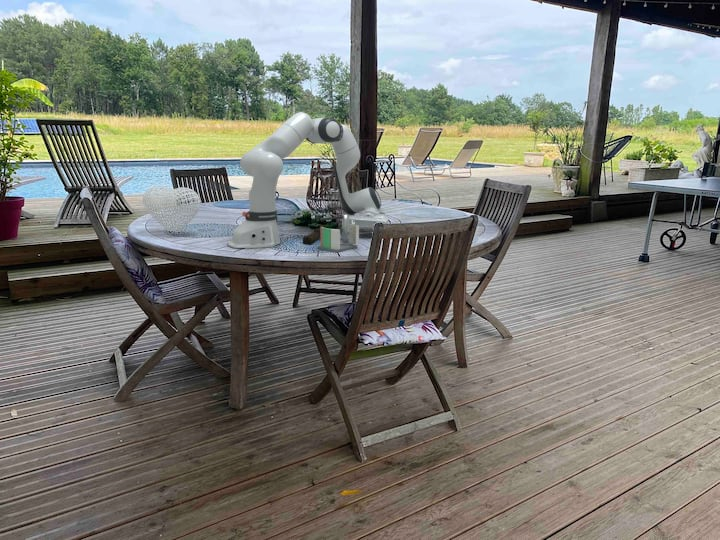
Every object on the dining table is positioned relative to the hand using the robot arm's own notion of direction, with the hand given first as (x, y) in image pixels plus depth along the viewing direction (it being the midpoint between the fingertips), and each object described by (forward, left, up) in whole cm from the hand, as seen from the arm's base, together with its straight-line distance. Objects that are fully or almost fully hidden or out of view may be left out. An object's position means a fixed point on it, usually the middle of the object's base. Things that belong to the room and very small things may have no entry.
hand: (363, 225), depth 225 cm
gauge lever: (-17, -11, -5) cm, 21 cm away
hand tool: (-20, +11, -7) cm, 24 cm away
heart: (-73, +51, -7) cm, 89 cm away
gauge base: (-17, -8, -7) cm, 20 cm away
